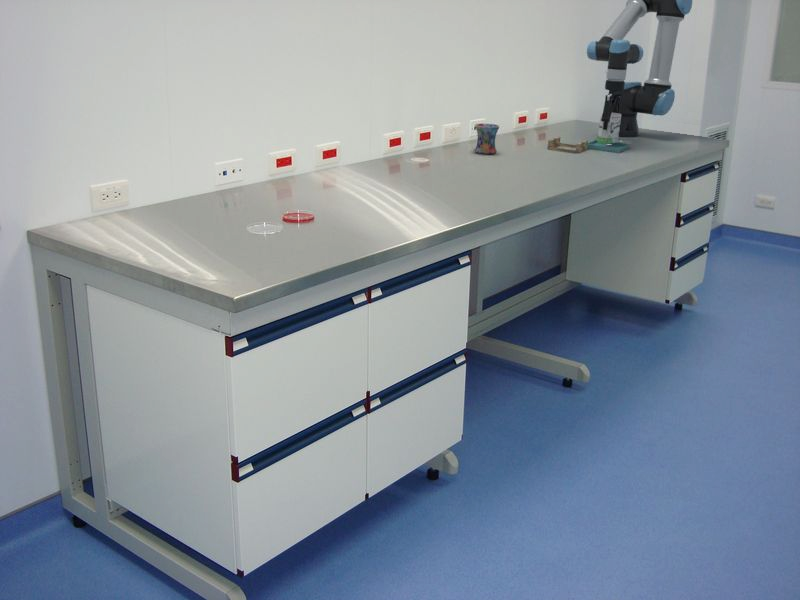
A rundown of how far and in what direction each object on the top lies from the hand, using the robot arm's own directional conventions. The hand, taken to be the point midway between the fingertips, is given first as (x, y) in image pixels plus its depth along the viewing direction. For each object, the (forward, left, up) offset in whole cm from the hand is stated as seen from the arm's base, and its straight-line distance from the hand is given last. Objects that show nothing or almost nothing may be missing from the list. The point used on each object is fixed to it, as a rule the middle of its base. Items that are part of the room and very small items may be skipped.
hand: (608, 136), depth 346 cm
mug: (+44, -34, -5) cm, 56 cm away
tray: (0, 0, -5) cm, 5 cm away
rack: (+14, -12, -5) cm, 19 cm away
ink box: (0, 0, -3) cm, 3 cm away
